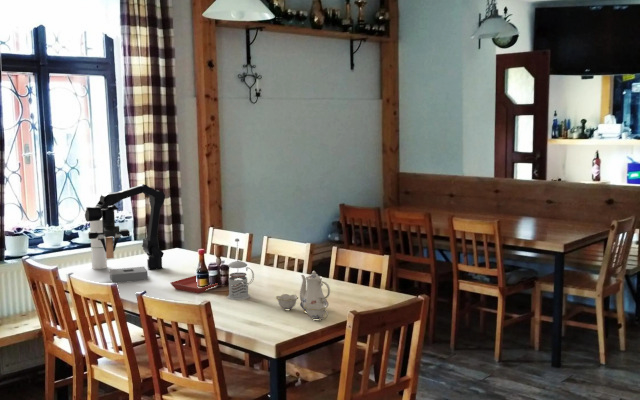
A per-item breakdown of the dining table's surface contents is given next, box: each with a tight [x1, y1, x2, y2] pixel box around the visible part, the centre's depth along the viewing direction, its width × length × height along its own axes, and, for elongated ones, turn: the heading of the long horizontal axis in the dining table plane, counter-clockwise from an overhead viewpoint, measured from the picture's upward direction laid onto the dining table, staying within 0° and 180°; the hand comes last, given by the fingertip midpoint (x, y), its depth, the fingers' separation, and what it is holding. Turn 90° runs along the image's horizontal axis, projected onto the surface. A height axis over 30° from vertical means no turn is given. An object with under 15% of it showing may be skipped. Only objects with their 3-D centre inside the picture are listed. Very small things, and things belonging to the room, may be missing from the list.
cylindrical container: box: [89, 218, 108, 270], centre depth 342 cm, size 7×7×25 cm
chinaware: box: [275, 270, 331, 320], centre depth 258 cm, size 28×17×17 cm, turn 46°
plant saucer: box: [170, 275, 218, 294], centre depth 300 cm, size 18×18×3 cm
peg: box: [106, 237, 115, 260], centre depth 325 cm, size 3×3×10 cm
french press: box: [226, 238, 255, 301], centre depth 282 cm, size 10×12×25 cm
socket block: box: [109, 266, 149, 284], centre depth 318 cm, size 16×12×4 cm
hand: (109, 251), depth 325 cm, fingers closed on peg, 3 cm apart
